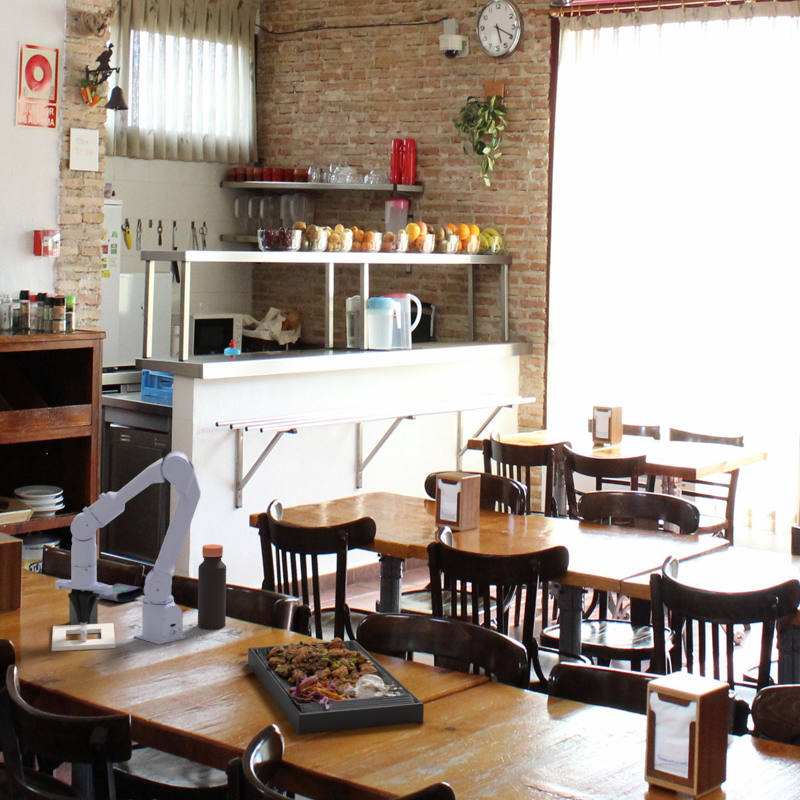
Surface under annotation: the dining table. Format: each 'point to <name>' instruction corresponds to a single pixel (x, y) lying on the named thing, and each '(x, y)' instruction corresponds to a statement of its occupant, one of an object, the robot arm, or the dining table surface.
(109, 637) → the cream frame with handle
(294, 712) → the food platter
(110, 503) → the robot arm
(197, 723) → the dining table surface
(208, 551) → the bottle
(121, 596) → the blue flat box
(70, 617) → the notched grey block
